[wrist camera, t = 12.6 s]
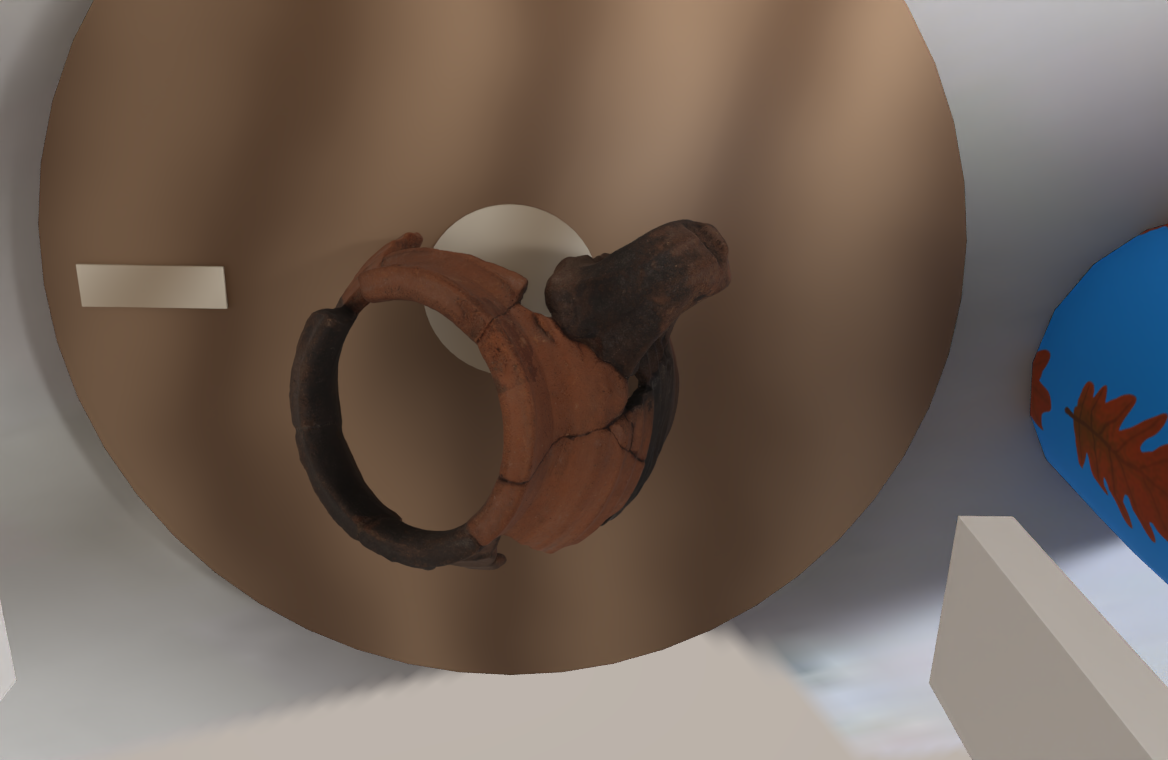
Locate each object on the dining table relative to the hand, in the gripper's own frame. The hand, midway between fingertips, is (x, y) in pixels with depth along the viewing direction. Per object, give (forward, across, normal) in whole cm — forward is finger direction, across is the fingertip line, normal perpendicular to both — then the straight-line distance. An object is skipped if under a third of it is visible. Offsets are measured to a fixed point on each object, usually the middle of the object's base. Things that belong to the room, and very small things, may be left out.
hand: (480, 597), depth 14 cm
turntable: (+17, 0, 0) cm, 17 cm away
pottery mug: (+16, -1, +2) cm, 16 cm away
